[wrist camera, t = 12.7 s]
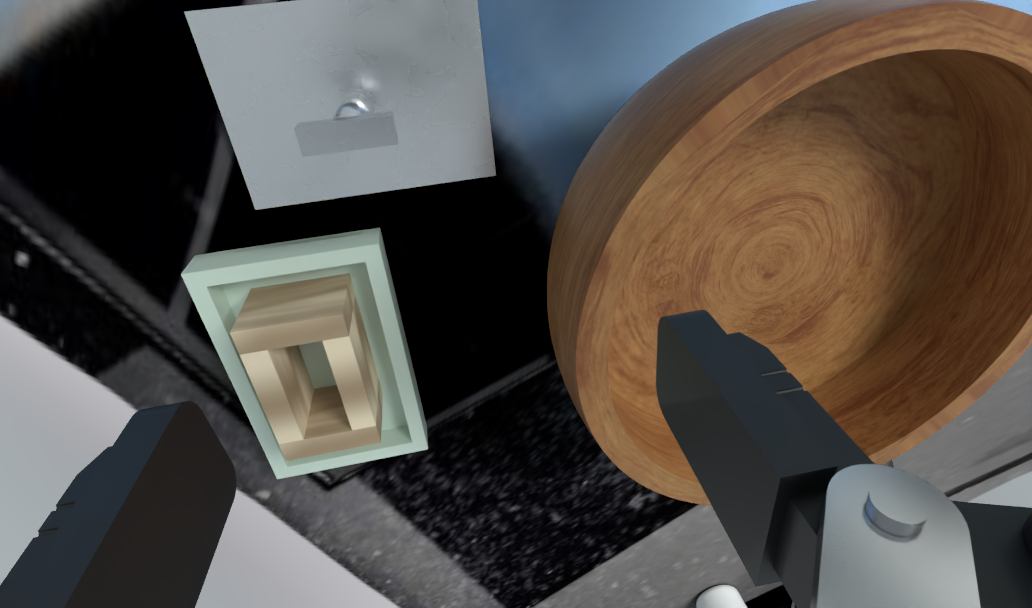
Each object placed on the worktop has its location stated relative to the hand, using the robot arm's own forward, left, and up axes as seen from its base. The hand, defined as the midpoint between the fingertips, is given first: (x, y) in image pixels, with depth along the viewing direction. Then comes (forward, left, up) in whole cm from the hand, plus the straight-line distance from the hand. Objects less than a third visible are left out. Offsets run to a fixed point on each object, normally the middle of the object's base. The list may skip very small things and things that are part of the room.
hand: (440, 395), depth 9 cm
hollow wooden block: (+9, +15, -24) cm, 30 cm away
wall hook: (+3, -1, -25) cm, 25 cm away
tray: (+9, +15, -25) cm, 30 cm away
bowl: (-17, +8, -25) cm, 31 cm away
